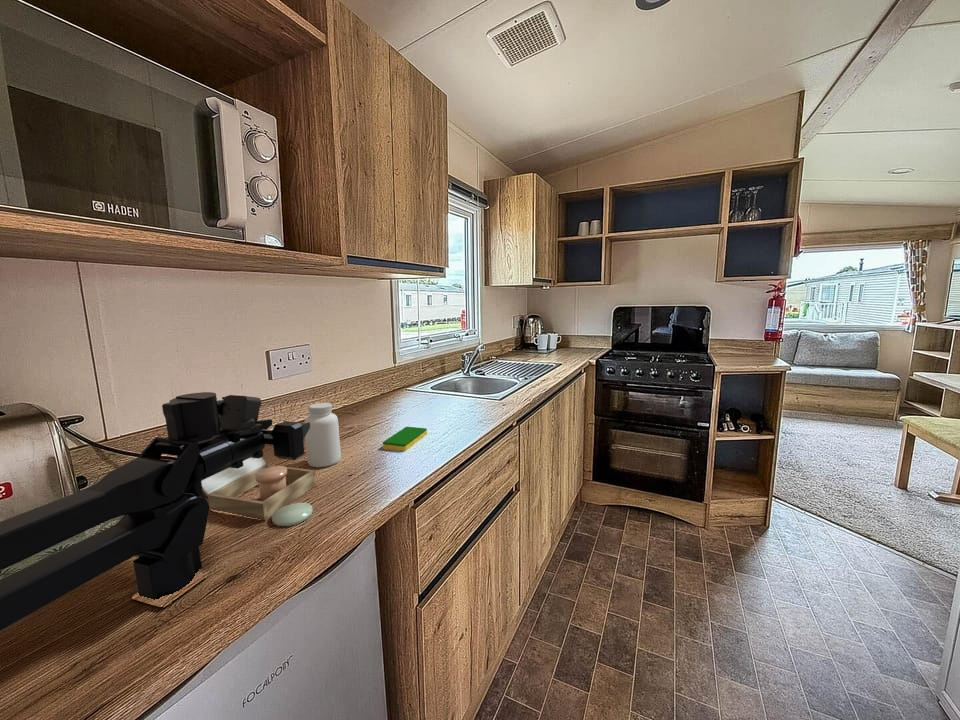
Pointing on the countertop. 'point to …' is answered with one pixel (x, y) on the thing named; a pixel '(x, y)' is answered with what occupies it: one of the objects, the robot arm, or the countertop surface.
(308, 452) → the pill bottle
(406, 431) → the dish sponge
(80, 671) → the countertop surface
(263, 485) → the tan knob
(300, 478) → the cold frame
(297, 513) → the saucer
